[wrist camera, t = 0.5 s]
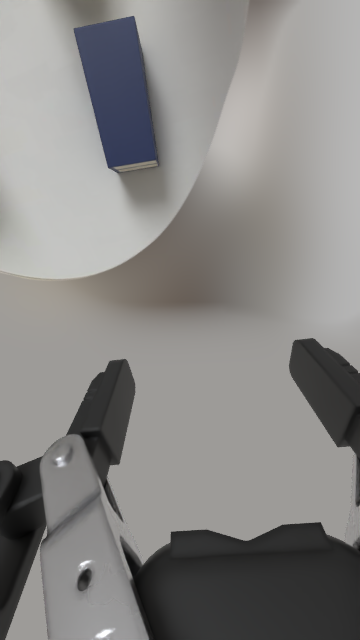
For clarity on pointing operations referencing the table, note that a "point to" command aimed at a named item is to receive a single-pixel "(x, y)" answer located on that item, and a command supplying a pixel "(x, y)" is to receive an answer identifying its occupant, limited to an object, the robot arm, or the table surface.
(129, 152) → the navy stack
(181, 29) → the table surface
